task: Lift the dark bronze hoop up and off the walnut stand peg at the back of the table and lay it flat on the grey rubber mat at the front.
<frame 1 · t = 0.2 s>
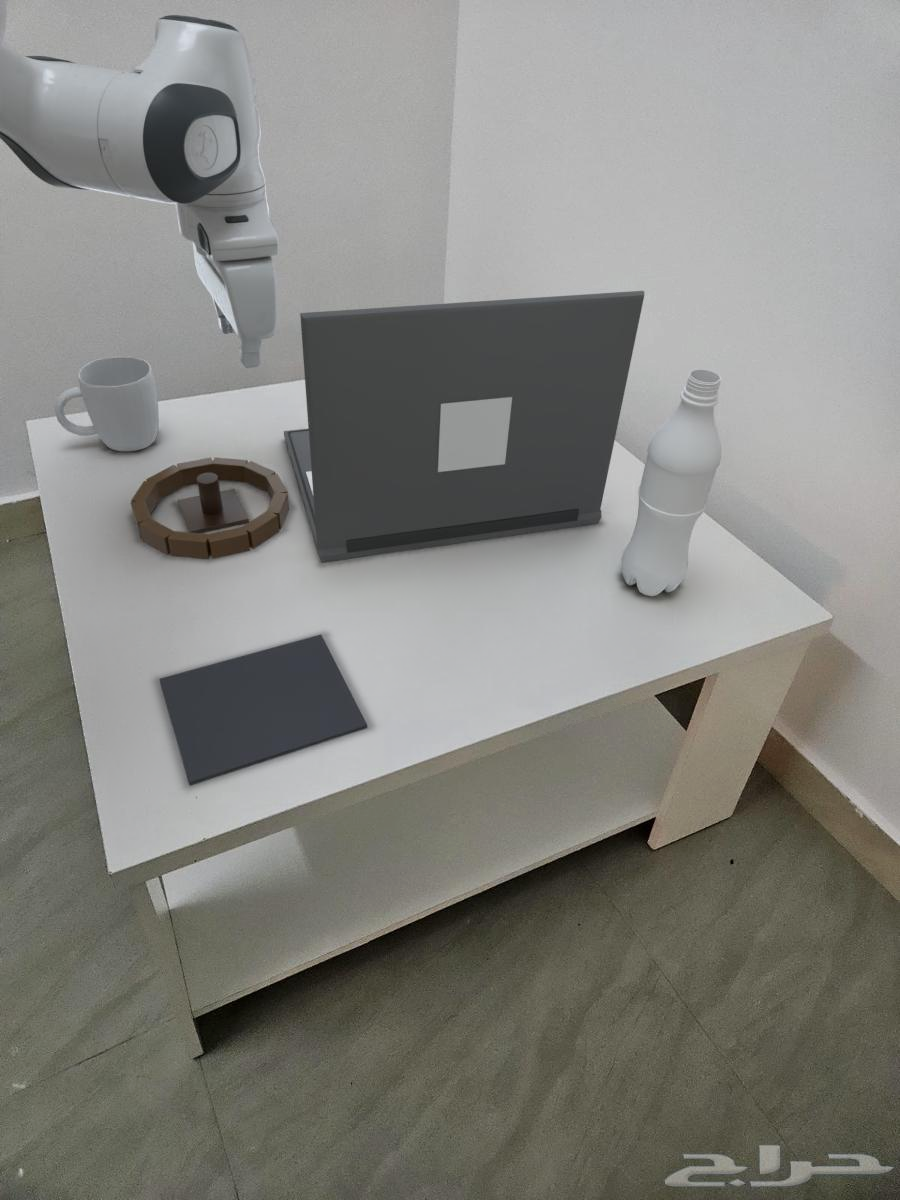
hand: (239, 347, 90), 19 cm above the table, tool pointing down, fingers open, 8 cm apart
mat: (261, 704, 76), on the table
hoop: (213, 513, 98), on the table
laptop: (434, 481, 106), on the table
stand: (213, 513, 98), on the table
mug: (116, 443, 110), on the table
water bottle: (648, 583, 93), on the table
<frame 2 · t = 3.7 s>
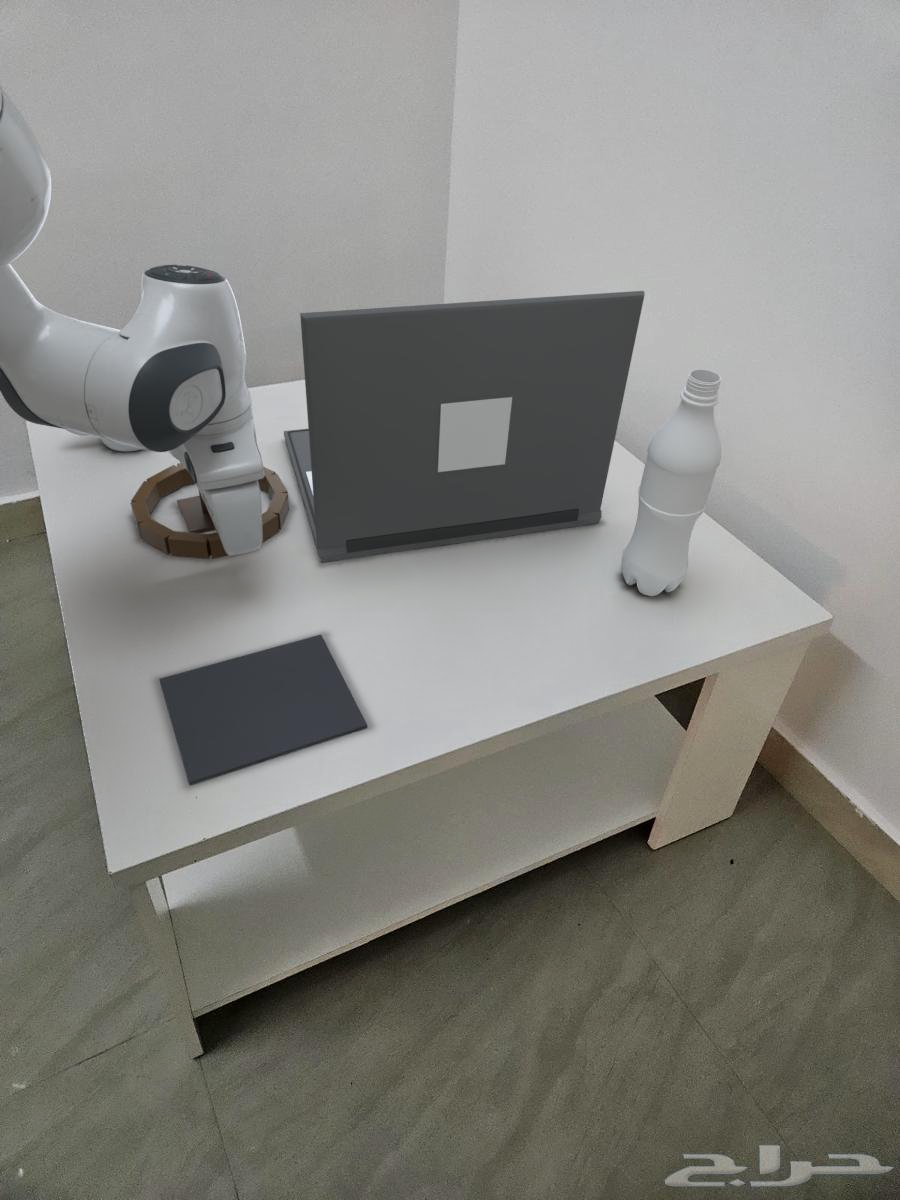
hand: (227, 539, 92), 2 cm above the table, tool pointing down, fingers closed on hoop, 2 cm apart
hoop: (213, 513, 98), on the table, touching gripper
everything else where it was.
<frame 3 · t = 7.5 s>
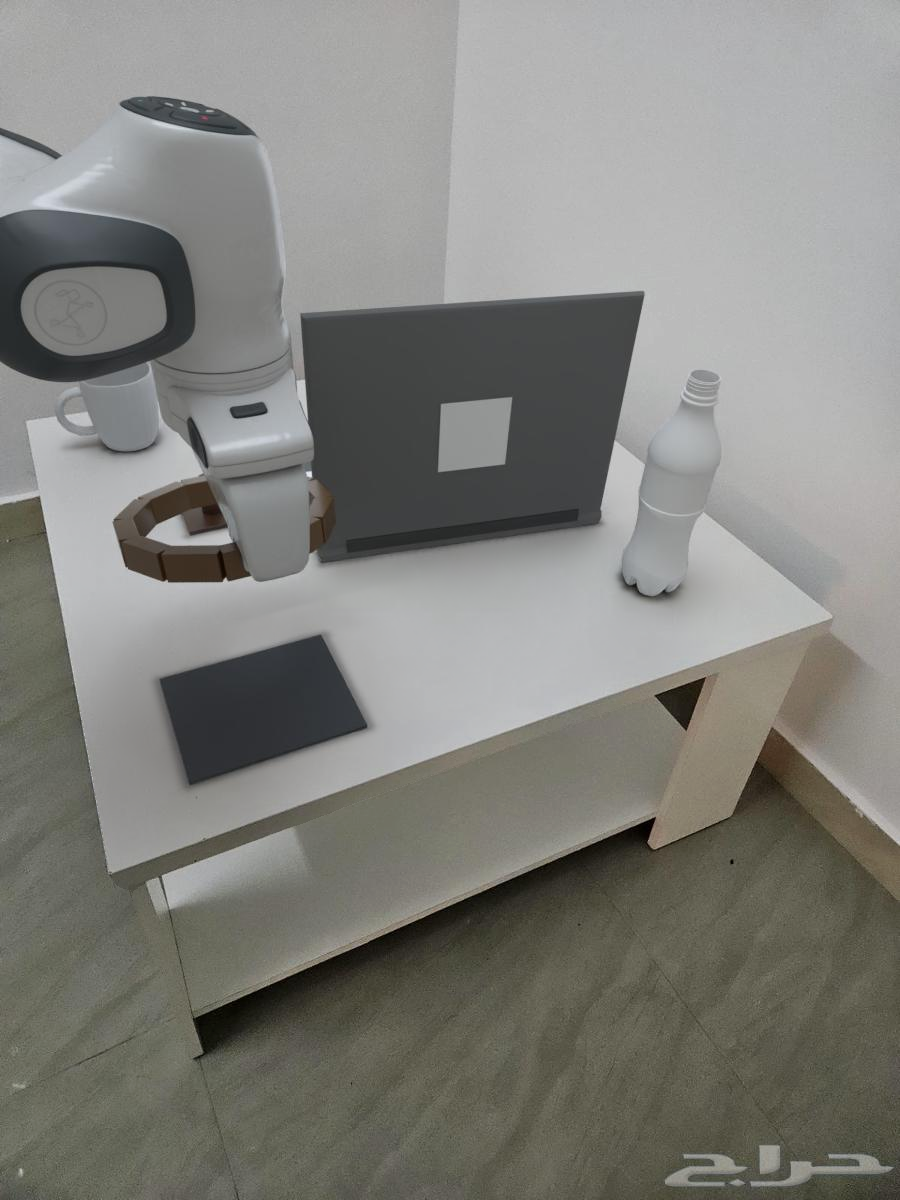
hand: (249, 553, 63), 19 cm above the table, tool pointing down, fingers closed on hoop
hoop: (230, 533, 70), point 16 cm above the table, tilted 12°, touching gripper
everything else where it was.
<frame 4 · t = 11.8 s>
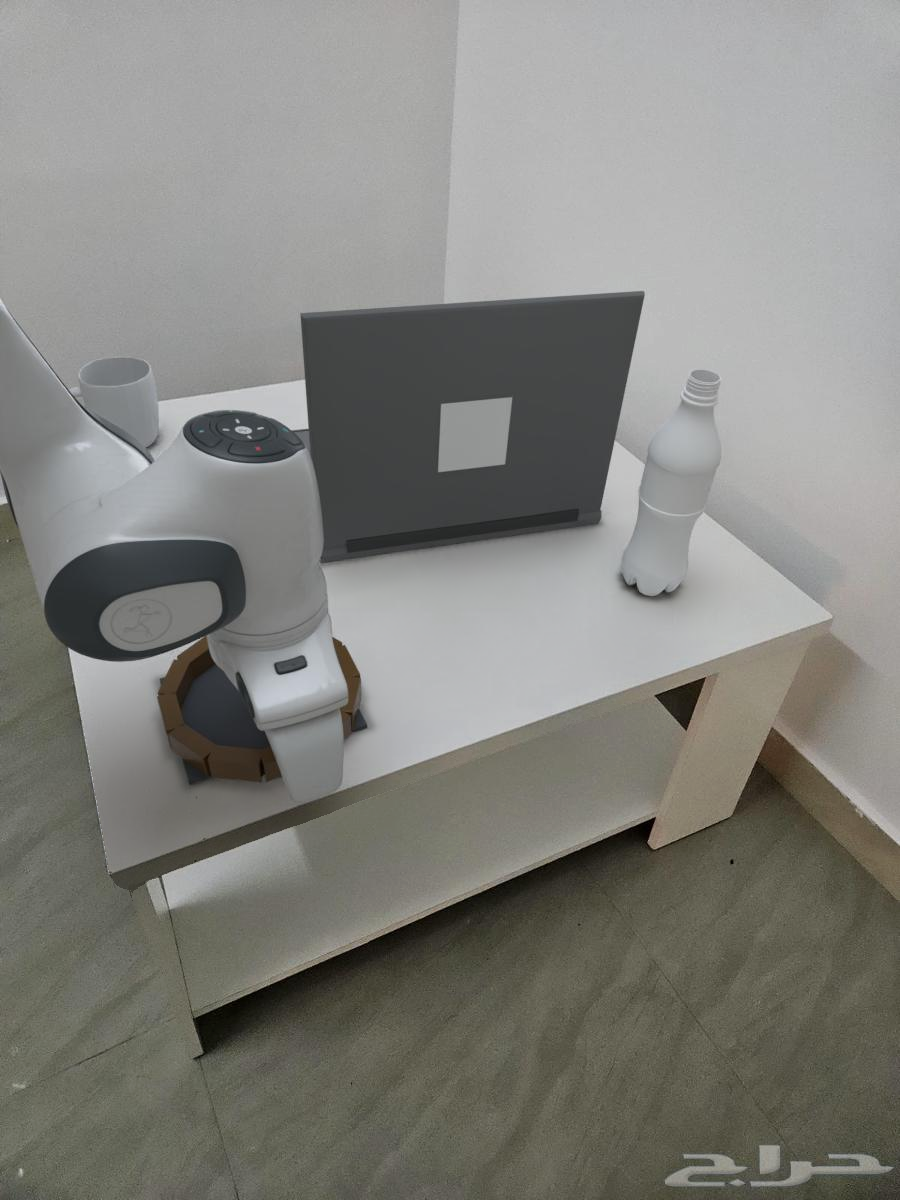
hand: (283, 744, 69), 3 cm above the table, tool pointing down, fingers open, 4 cm apart
hoop: (263, 702, 76), resting on mat
everything else where it was.
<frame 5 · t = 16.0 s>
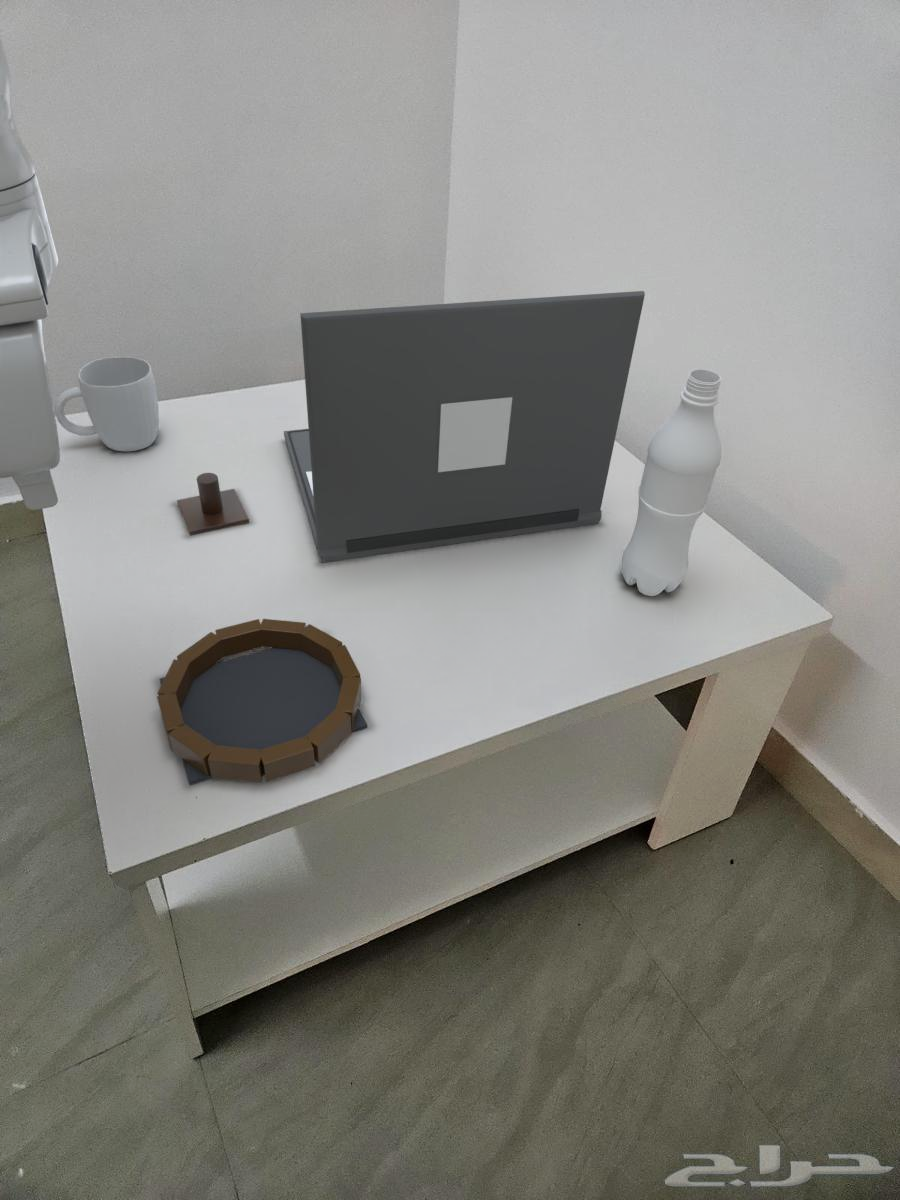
hand: (35, 463, 52), 29 cm above the table, tool pointing down, fingers open, 8 cm apart
nothing on the table moved.
at the end: hoop inside the target area on the mat (0.3 cm from its centre), point 0.4 cm above the mat's base; hoop touching mat; the gripper is holding nothing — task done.
